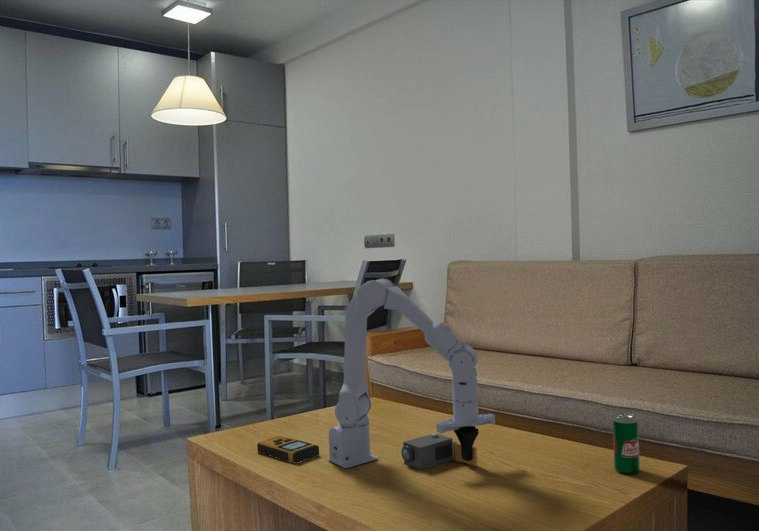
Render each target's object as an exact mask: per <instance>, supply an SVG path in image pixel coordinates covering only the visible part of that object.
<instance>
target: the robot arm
mask: <svg viewBox="0 0 759 531" xmlns="http://www.w3.org/2000/svg"><path fill="white" fill-rule="evenodd" d="M382 307H383V309H384V310H390V311H391V310H392V311H397V312H398V313H400V314H401V315H403V317H405V318H407V319H408V320H409V322H411V323H412V324H413V325H414V326H415V327H417V328H418V329H420V331H421V332H423V334H424V341H425V342H426V344H428V345H429V346H430V347H431V348H432V349H433V350H434V351H435V352H437V354H438V355H439V356H441V357H442V359H444V360H445V361H448V366H449V368H450V370H451V371H452V380H451V384H452V385H451V387H452V388H451V389H452V390H451V391H452V412H453V413H452V416H453V417H452V418H449V419H447V420H442V421H440V422H436V433H438V434H439V433H440V434H445V433H446V432H452V431H453V432H454V433H455V436H456V437H457V439H458V441H459V442H458V443H460V444H461V455H462V459H464V460H466V461H470V460H472V447H474V444H475V441H476V439H477V437H478V435H479V429H478V428H476V427H478V426H484V425H488V424H491V425H495V424H496V415H495V414H492V413H486V414H485V413H483V414H479V412H480V411H479V392H478V391H479V389H478V388H479V387H478V378H477V377H478V374H477V368H476V366H477V364H478V360H479V357H478V353H477V351H476V350H475V349H474V347H473V346H472V345H470V344H467V341H466V340H464V339H463V340H461V339H460V338H459V337H458V336H457V335H456V334H455V333H454V332H453V331H452V330H451V329H452V327H451V326H450V325H449V324H444V323H443V322H434V321H433V320H432V319H431V318H430V317H429V316H428V315H427V314H426V313H425V312H424V311H423V310H422V309H421V308H420V307H419V306H418V305H417V304H416V303H415V302H414V301H413V300H412V299H411V298H410V297H409V296H408V295H407V294H406V293H405V292H404V291H403V290H402V289H401V288H400V287H398V286H397V285H395V284H394V283H393V282H392V280H389V279H387V278H379V279H376V280H368V281H366V282H364V283H362V285H360V286H359V287H357V289H356V291H355V294H354V295H353V296H352V299H351V300H350V302H349V303H348V305H347V306H346V308H345V314H344V315H345V318H344V320H345V321H344V322H345V323H344V324H345V325H344V354H343V355H344V356H343V357H344V358H343V359H344V360H343V383H342V387H341V389H340V391H339V393H338V401H337V404H336V405H335V408H334V416H335V418H336V420H337V421H338V424H337V425H336V426H334V427H332V428H330V430H329V433H328V446H329V447H328V448H329V451H328V452H329V457H328V459H327V460H328V461H329V462H331V463H334V464H335V465H337V466H339V467H342V468H344V469H349V468H352V467H356V466H358V465H363V464H366V463H369V462H373V461H377V460H379V457H378V456H376V455H374V454H371V438H370V437H371V436H370V434H371V433H370V419H369V417H368V414H369V412H370V410H371V408H372V400H371V398H370V395H369V387H368V385H367V382H366V367H367V366H366V365H367V362H366V360H367V335H368V334H367V333H368V330H367V329H368V318H369V317H370V315H372V314H373V313H374V312H375V311H376V310H378V309H379V308H382Z"/></svg>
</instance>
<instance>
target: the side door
mask: <svg viewBox="0 0 759 531" xmlns="http://www.w3.org/2000/svg"><path fill="white" fill-rule="evenodd" d="M453 461H455V462H460V463H463V464H467V465H470V466H474V467H476V466H478V448H477V447H476V446H473V447H472V460H470V461H466V460H464V459H462V455H461V444H460V442H458V441H456V440H455V441H454V440H453Z"/></svg>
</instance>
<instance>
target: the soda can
mask: <svg viewBox="0 0 759 531" xmlns="http://www.w3.org/2000/svg"><path fill="white" fill-rule="evenodd" d="M613 416H614V417H613V419H612V437H613V438H612V439H613V441H612V442H613V463H614V464H613V465H614V469H615V470H616V472H618V473H620V474H622V475H635V474H637V473H638V472H639V471H640V470H641V467H640V466H641V465H640V464H641V463H640V444H639V442H640V441H639V440H640V439H639V421H638V419H637V416H636V415H635V414H632V413H626V412H625V413H623V412H621V413H620V412H619V413H616V414H614V415H613Z"/></svg>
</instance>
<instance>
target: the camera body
mask: <svg viewBox="0 0 759 531" xmlns="http://www.w3.org/2000/svg"><path fill="white" fill-rule="evenodd" d="M453 442H454V440H453V438H452V437H449V436H446V435H443V434H441V433H440V434H439V432H433V433H431V434H428V435H423V436H420V437H417V438H413V439H410V440H405V441H403V447H402V448H401V451H400V452H401V457H402V459H403V464H405V465H407V466H408V465H409V466H411V467H412V468H415V469H418V470H420V471H422V470H425V469H428V468H431V467H434V466H437V465H440V464H443V463H446V462H450V461H452V460H453V461H454V457H453Z"/></svg>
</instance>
